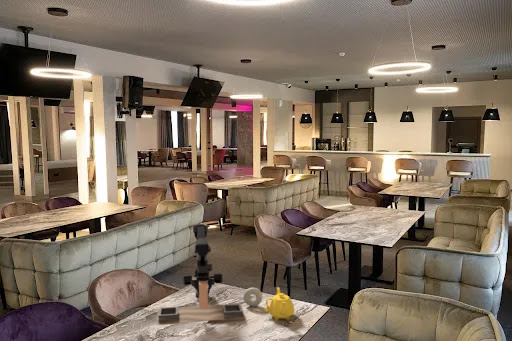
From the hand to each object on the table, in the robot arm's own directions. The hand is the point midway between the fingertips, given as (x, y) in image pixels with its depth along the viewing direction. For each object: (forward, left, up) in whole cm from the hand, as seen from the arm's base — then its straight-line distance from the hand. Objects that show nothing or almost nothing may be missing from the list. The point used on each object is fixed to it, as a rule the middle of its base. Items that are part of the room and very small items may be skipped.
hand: (203, 295), depth 196 cm
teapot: (-1, +37, -14) cm, 40 cm away
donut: (-15, +26, -14) cm, 33 cm away
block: (-1, 0, -6) cm, 6 cm away
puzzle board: (-8, -1, -13) cm, 16 cm away
